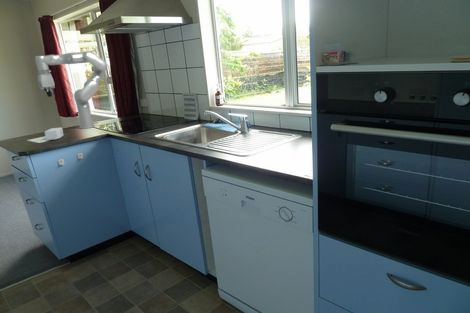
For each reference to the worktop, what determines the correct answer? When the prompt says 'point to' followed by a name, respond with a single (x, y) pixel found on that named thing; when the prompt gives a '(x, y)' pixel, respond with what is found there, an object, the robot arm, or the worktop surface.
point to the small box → (53, 133)
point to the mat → (39, 139)
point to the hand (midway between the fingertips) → (49, 96)
